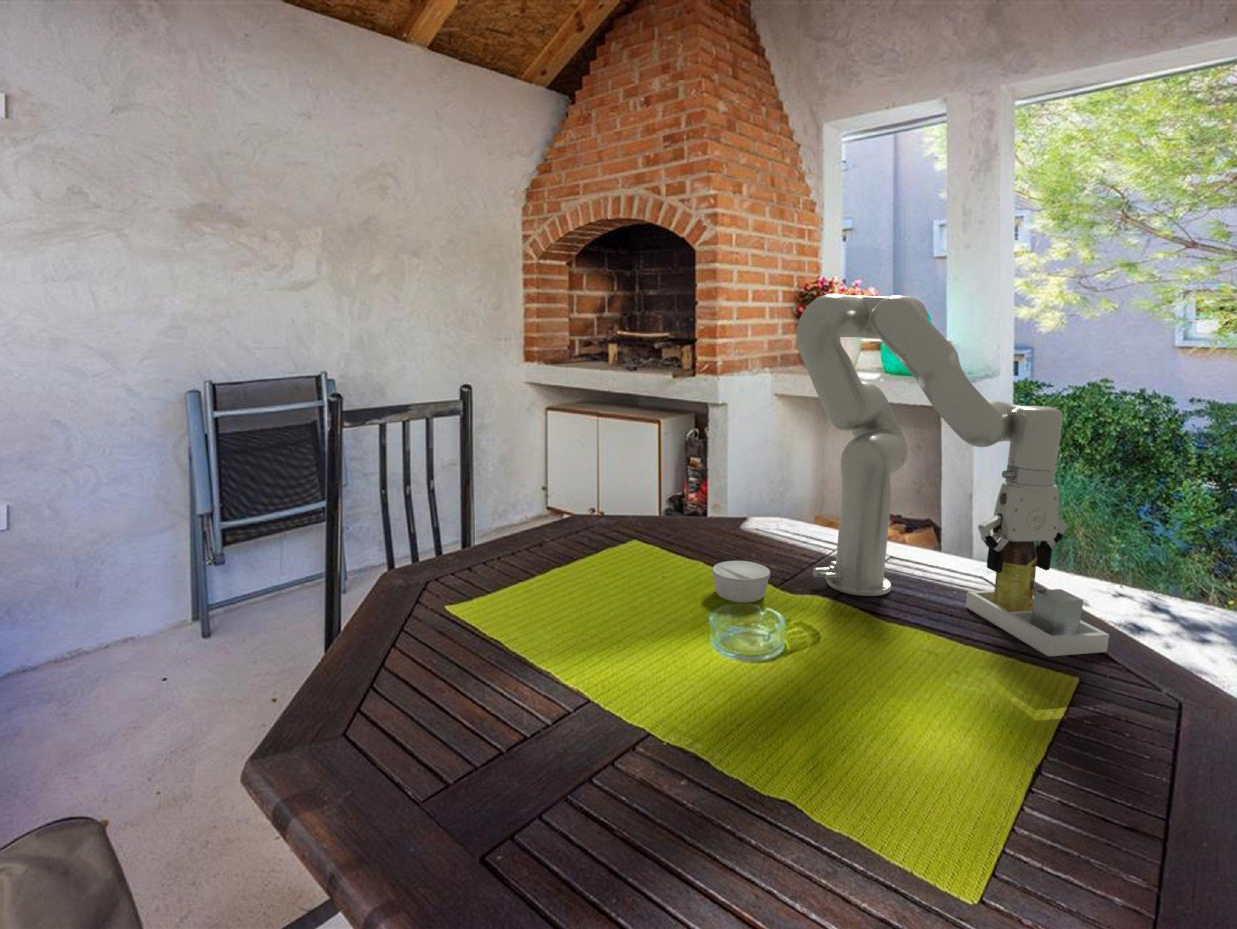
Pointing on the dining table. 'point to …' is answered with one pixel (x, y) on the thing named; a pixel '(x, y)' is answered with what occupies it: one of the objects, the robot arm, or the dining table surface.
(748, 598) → the ramekin
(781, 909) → the dining table surface
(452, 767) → the dining table surface
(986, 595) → the divided bay tray
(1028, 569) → the sauce bottle
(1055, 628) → the grey metal block
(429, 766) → the dining table surface
